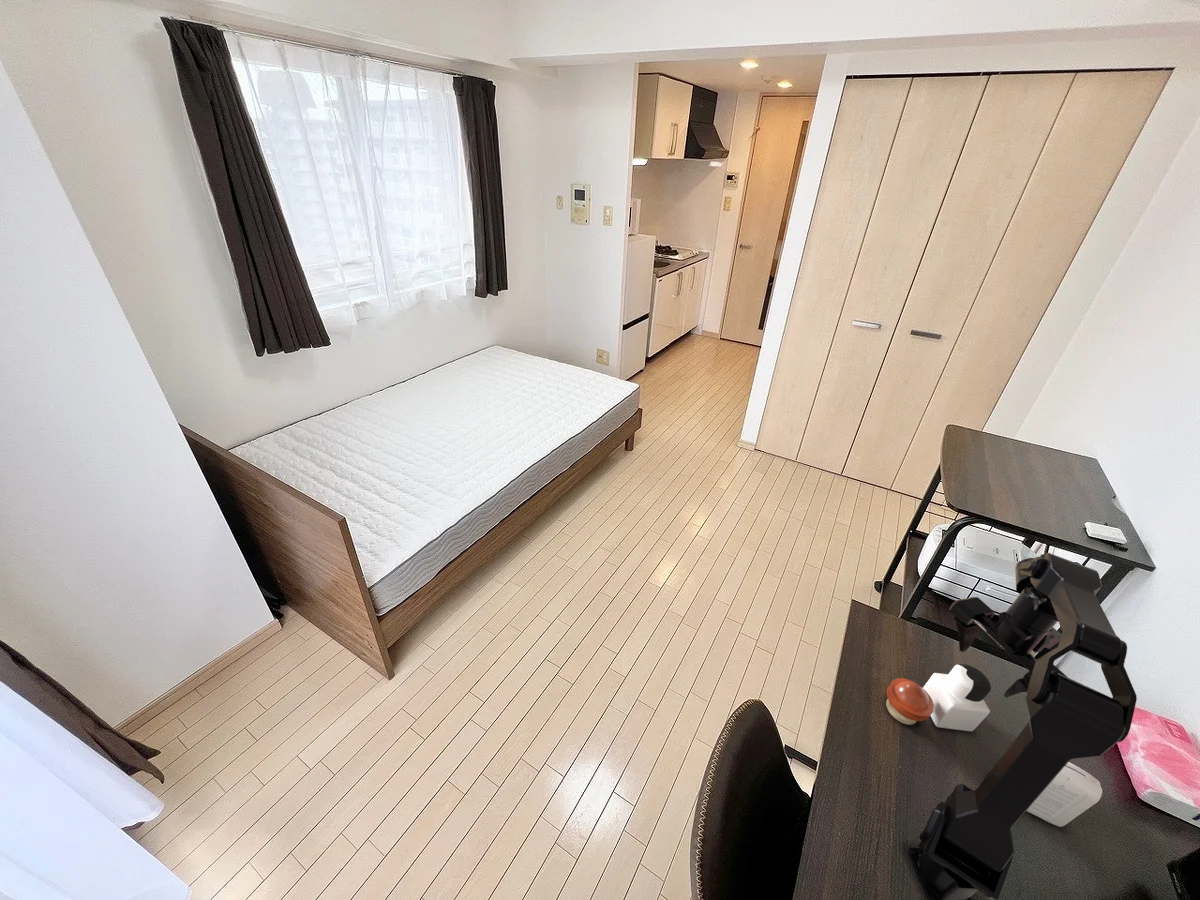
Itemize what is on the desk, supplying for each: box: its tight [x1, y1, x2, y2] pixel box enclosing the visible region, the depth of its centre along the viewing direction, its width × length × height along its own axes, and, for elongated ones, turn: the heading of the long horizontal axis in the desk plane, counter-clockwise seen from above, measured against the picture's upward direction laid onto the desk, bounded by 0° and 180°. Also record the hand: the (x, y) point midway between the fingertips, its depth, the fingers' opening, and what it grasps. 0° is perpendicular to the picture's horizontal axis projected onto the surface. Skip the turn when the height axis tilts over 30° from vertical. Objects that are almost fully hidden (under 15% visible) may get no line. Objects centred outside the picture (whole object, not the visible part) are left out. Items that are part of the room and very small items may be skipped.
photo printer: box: [1026, 761, 1103, 828], centre depth 79 cm, size 10×4×12 cm, turn 60°
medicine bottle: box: [922, 663, 992, 732], centre depth 92 cm, size 7×7×12 cm
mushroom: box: [885, 677, 934, 726], centre depth 93 cm, size 8×8×7 cm
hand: (983, 672), depth 89 cm, fingers open, 9 cm apart
